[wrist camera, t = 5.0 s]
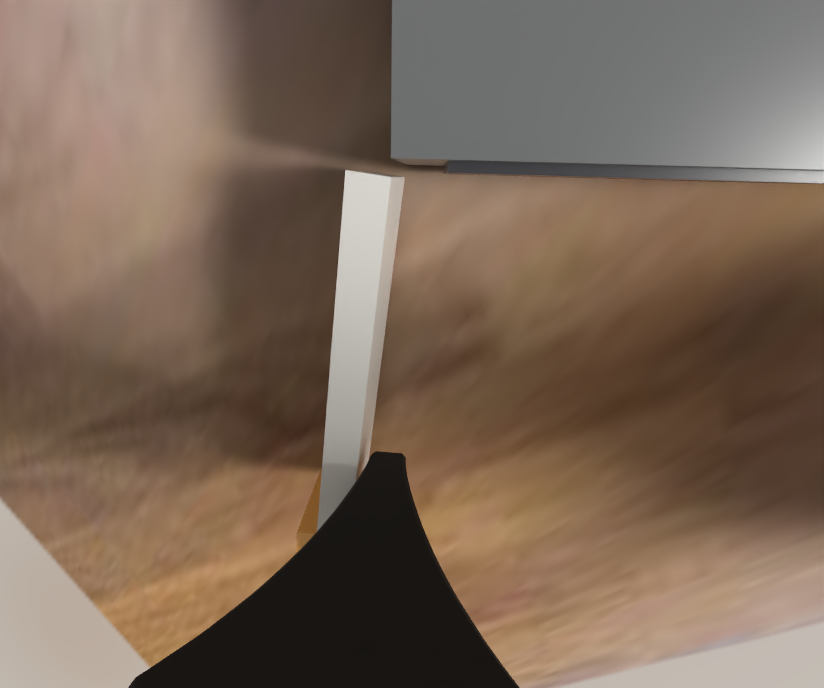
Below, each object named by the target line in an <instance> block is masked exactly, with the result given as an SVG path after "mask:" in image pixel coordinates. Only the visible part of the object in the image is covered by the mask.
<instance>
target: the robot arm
mask: <svg viewBox="0 0 824 688" xmlns="http://www.w3.org/2000/svg"><path fill="white" fill-rule="evenodd" d="M405 460H406V458H405V456H404V455H403V454H402V453H390V452H377V451H376V452H375V453H373V454H372V455H371V457H370V459H369V461H368V463H367V465H366V466H365V468H364V470H363V471H362V473H361V475H360V476H359V478H358V479H357V481H356V482H355V484H354V485H353V487H352V488H351V489H350V491H349V492H348V493H347V495H346V496H345V498H344V499H343V500H342V502H341V503H340V504H339V506H338V507H337V508H336V509H335V511H334V512H333V513H332V514H331V515H330V517H329V518H328V519H327V520H326V521H325V523H324V524H323V525H322V526H321V527H320V529H319V530H318V531H317V532H316V533H315V534H314V535H313V537H312V538H311V539H310V540H309V541H308V542H307V543H306V544H305V545H304V546H303V547H302V548H301V549H300V550H299V551H298V552H297V553H296V554H295V555H294V556H293V557H292V558H291V559H290V560H289V561H288V562H287V563H286V564H285V565H284V566H283V567H282V568H281V569H280V570H279V571H278V572H276V573H275V574H274V575H273V576H272V577H271V578H270V579H269V580H268V581H267V582H266V583H264V584H263V585H262V586H261V587H260V588H259V589H257V590H256V591H255V592H254V593H253V594H252V595H250V596H249V597H248V598H247V599H245V600H244V601H243V602H242V603H240V604H239V605H238V606H236V607H235V608H234V609H233V610H231V611H230V612H229V613H227V614H226V615H225V616H224V617H222V618H221V619H220V620H218V621H217V622H216V623H215V624H213V625H212V626H211V627H209V628H208V629H207V630H205V631H204V632H203V633H201V634H200V635H198V636H197V637H196V638H194V639H193V640H191V641H190V642H188V643H187V644H185V645H184V646H182V647H181V648H179V649H178V650H176V651H175V652H173V653H172V654H170V655H169V656H167V657H166V658H165V659H163V660H162V661H160V662H159V663H157V664H156V665H154V666H153V667H151V668H150V669H148V670H147V671H145V672H143V673H142V674H140V675H139V676H137V677H136V678H135V679H134V681H133V682H132V683H131V685H130V686H129V688H519V686H518V685H517V684H516V683H515V681H514V680H513V679H512V677H511V676H510V675H509V673H508V672H507V671H506V669H505V668H504V667H503V666H502V664H501V663H500V661H499V660H498V659H497V657H496V656H495V654H494V653H493V652H492V650H491V649H490V647H489V646H488V645H487V643H486V642H485V640H484V639H483V637H482V636H481V634H480V633H479V631H478V630H477V628H476V626H475V625H474V623H473V622H472V620H471V619H470V617H469V615H468V614H467V612H466V611H465V609H464V608H463V606H462V604H461V603H460V601H459V600H458V598H457V596H456V594H455V593H454V591H453V589H452V587H451V586H450V584H449V582H448V580H447V578H446V576H445V574H444V573H443V571H442V569H441V567H440V565H439V563H438V561H437V559H436V557H435V554H434V552H433V550H432V548H431V546H430V543H429V541H428V539H427V536H426V534H425V531H424V529H423V526H422V524H421V521H420V518H419V516H418V513H417V510H416V507H415V504H414V501H413V497H412V494H411V490H410V486H409V482H408V478H407V472H406V463H405Z"/></svg>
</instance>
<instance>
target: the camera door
mask: <svg viewBox="0 0 824 688" xmlns="http://www.w3.org/2000/svg"><path fill="white" fill-rule="evenodd" d="M404 180H405V177H402V176H395V175H389V174H382V173H376V172H364V171H352V170H345V183H344V195H343V208H342V221H341V233H340V246H339V259H338V271H337V284H336V297H335V309H334V322H333V334H332V347H331V360H330V372H329V385H328V398H327V410H326V423H325V436H324V448H323V461H322V468H321V471H320V474H319V476H318V479H317V481H316V484H315V487H314V489H313V492H312V495H311V497H310V500H309V503H308V505H307V508H306V510H305V513H304V516H303V518H302V521H301V524H300V526H299V529H298V532H297V549H296V553H297V552H298V551H299V550H300V549H301V548H302V547H303V546H304V545H305V544H306V543H307V542H308V541H309V540H310V539H311V538H312V537H313V535H314V534H315V533H316V532H317V531H318V530H319V529H320V527H321V526H322V525H323V524H324V523H325V521H326V520H327V519H328V518H329V517H330V515H331V514H332V513H333V512H334V511H335V509H336V508H337V507H338V506H339V504H340V503H341V502H342V500H343V499H344V498H345V496H346V495H347V493H348V492H349V491H350V489H351V488H352V487H353V485H354V484H355V482H356V481H357V479H358V478H359V476H360V475H361V473H362V471H363V470H364V468H365V466H366V465H367V463H368V461H369V454H370V446H371V438H372V430H373V422H374V415H375V407H376V399H377V391H378V383H379V375H380V368H381V360H382V352H383V344H384V336H385V328H386V321H387V313H388V305H389V297H390V289H391V282H392V274H393V266H394V258H395V250H396V242H397V235H398V227H399V219H400V211H401V203H402V195H403V188H404Z"/></svg>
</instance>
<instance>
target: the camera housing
mask: <svg viewBox="0 0 824 688" xmlns="http://www.w3.org/2000/svg"><path fill="white" fill-rule="evenodd" d="M391 158H392V159H394V160H396V161H399V162H401V163H403V164H405V165H427V166H444V174H465V175H501V176H536V177H572V178H607V179H643V180H679V181H714V182H750V183H795V184H824V0H392V70H391Z"/></svg>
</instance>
